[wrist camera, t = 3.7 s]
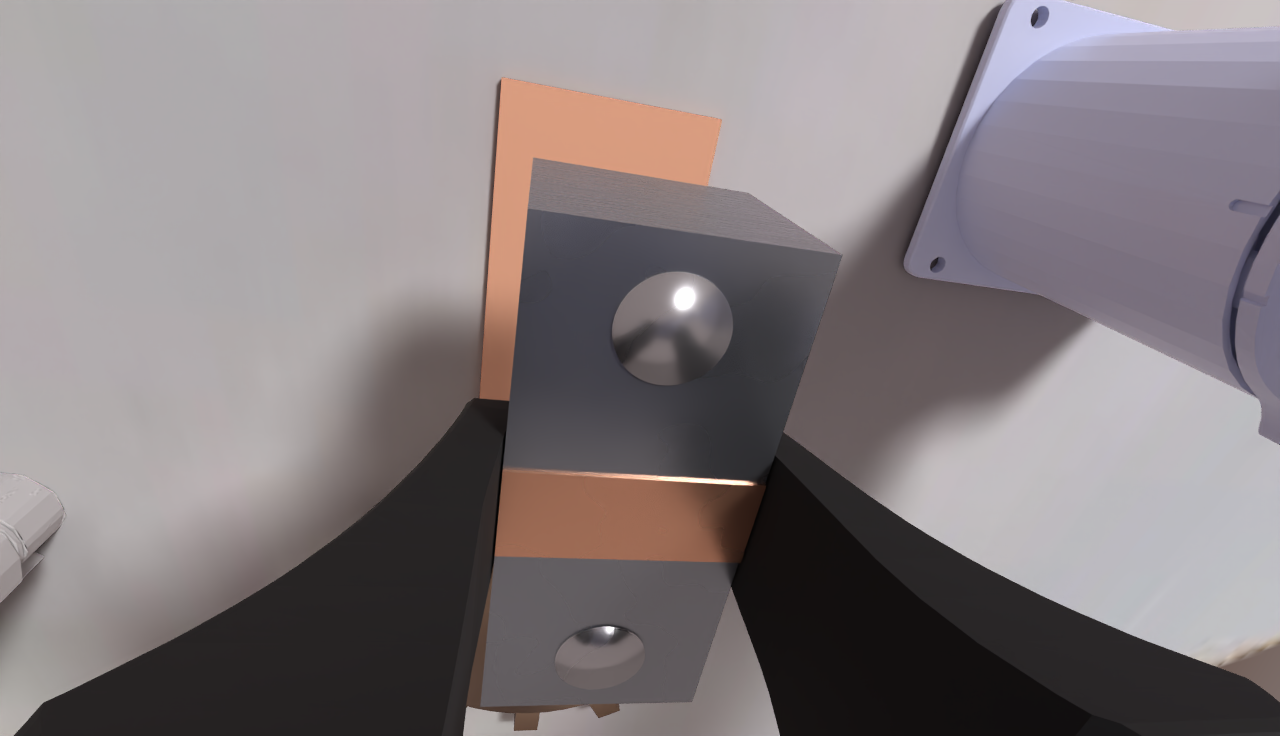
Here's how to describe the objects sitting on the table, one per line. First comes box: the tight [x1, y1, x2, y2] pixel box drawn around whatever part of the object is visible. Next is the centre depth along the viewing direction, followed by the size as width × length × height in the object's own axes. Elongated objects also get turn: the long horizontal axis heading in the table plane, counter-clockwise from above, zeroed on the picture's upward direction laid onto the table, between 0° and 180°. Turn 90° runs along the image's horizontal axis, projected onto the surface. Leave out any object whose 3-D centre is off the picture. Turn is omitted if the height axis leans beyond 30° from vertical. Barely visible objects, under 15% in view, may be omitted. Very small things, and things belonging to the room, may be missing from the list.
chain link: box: [480, 157, 842, 707], centre depth 11 cm, size 4×9×4 cm, turn 170°
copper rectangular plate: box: [479, 77, 722, 401], centre depth 18 cm, size 6×11×1 cm, turn 170°
